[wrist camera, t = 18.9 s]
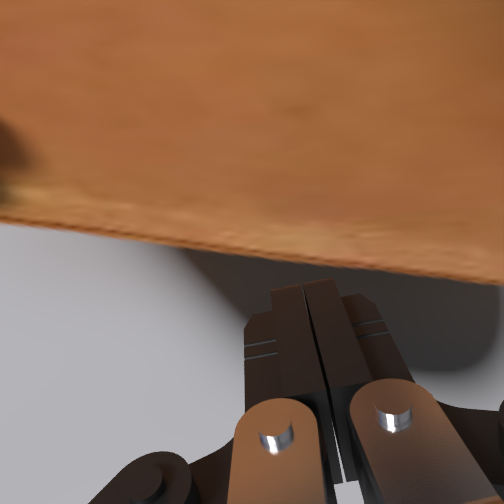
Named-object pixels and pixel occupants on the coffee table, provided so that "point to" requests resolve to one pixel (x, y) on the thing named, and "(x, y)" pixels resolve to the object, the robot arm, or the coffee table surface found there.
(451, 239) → the coffee table surface
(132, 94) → the coffee table surface
